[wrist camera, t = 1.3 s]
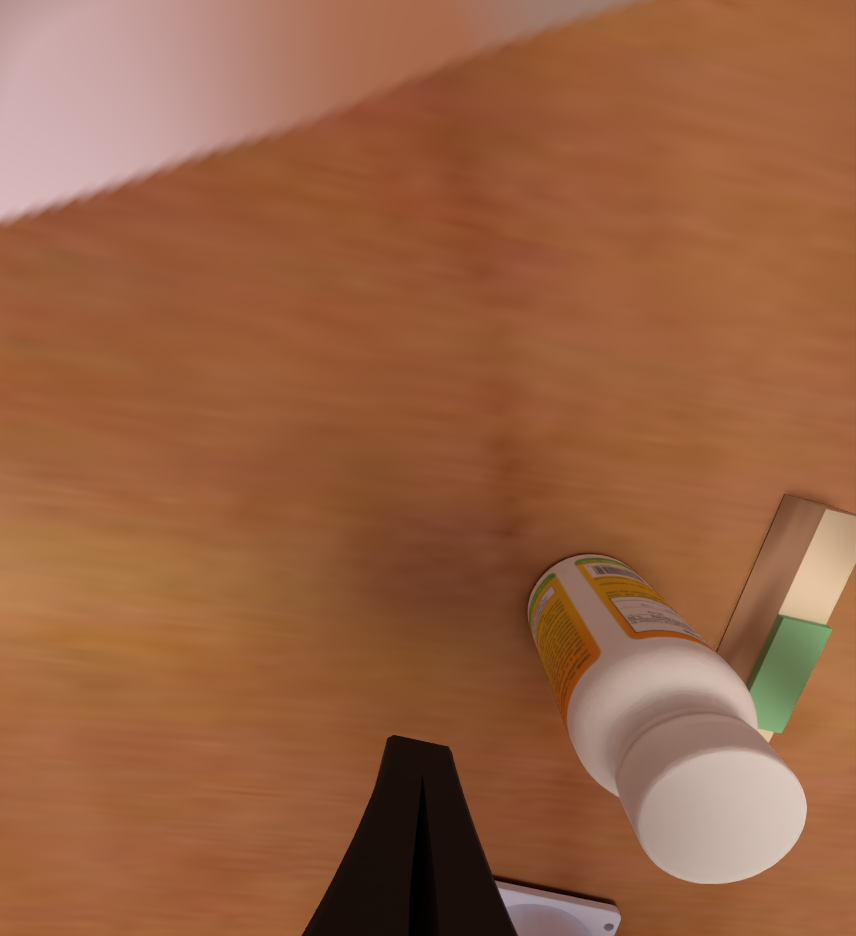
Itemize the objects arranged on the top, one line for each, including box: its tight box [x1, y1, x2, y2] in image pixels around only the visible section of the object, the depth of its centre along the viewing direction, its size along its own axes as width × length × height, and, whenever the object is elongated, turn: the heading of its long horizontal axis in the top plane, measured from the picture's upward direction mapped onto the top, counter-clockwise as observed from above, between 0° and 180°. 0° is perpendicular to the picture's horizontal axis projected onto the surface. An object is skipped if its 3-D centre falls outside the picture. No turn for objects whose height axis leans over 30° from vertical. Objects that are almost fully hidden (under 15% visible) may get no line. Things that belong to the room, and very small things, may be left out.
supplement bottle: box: [528, 554, 807, 884], centre depth 15 cm, size 5×5×10 cm
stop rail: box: [717, 495, 856, 743], centre depth 19 cm, size 14×2×2 cm, turn 167°
